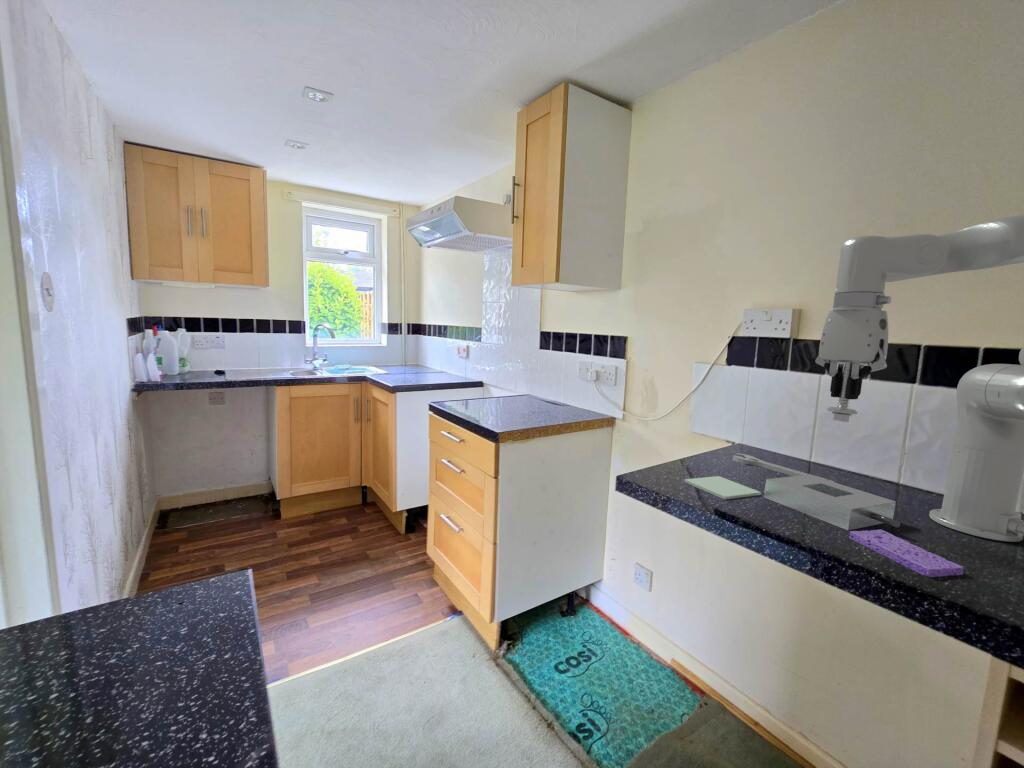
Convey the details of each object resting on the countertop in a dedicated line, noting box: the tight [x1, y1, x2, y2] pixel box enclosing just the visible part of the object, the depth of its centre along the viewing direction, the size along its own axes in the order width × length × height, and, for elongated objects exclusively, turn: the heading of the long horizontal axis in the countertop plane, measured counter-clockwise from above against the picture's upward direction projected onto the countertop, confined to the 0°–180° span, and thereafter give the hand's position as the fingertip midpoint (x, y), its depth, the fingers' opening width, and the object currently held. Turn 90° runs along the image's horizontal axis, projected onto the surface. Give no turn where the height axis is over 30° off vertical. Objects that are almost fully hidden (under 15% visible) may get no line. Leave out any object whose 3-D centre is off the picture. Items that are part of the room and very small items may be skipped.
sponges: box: [848, 529, 964, 578], centre depth 72 cm, size 7×13×2 cm, turn 11°
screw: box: [826, 362, 858, 423], centre depth 88 cm, size 13×5×5 cm
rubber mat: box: [683, 475, 762, 500], centre depth 99 cm, size 11×11×1 cm
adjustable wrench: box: [732, 452, 835, 482], centre depth 117 cm, size 25×6×2 cm, turn 28°
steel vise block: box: [763, 474, 901, 531], centre depth 89 cm, size 20×14×4 cm
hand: (844, 397), depth 88 cm, fingers closed on screw, 2 cm apart
